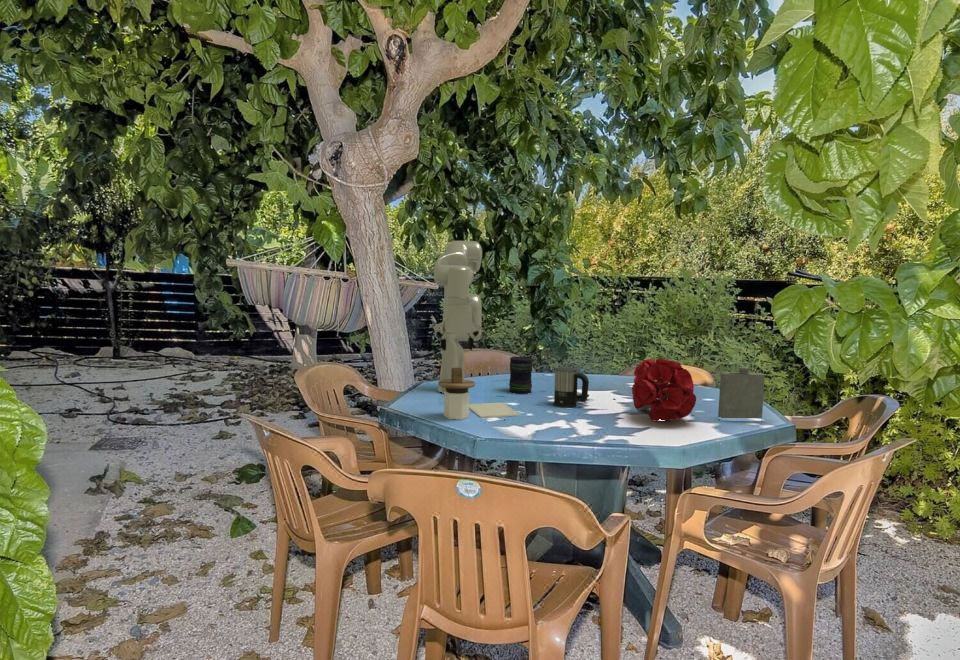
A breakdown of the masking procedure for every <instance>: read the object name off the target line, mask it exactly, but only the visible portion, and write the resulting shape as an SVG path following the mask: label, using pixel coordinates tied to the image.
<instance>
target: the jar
mask: <svg viewBox="0 0 960 660" xmlns="http://www.w3.org/2000/svg"><path fill="white" fill-rule="evenodd" d="M445 389H446V391H445V393H444V394H443V395H444V400H443V402H444V403H443V405H444V406H443V408H444V409H443V411H444V412H443V417H444V416H445V418H446V419H448V420H452V419H456V420H455V421H459V420H460V421H462V420H465V419H469V417H470V411H469V410H470V409H469V404H470V391H469V388H465V389H451V388H445Z"/></svg>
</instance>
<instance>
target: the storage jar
mask: <svg viewBox="0 0 960 660" xmlns="http://www.w3.org/2000/svg"><path fill="white" fill-rule="evenodd" d="M509 359H510V361H509V371H510V374H509V375H510V377H509V384H508V386H509V391H508V393H510V392H511V393H510V394H513V393H515V394H514V395H529V394H528V393H530V394H532V386H533V385H532V383H533V382H532V381H533V380H532V372H533V357H531V356H530V357H529V356H511V357H509Z"/></svg>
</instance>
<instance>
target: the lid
mask: <svg viewBox="0 0 960 660" xmlns="http://www.w3.org/2000/svg"><path fill="white" fill-rule="evenodd" d="M437 383H438V386H439V388H440V387H444V388H451V389H465V388H468V389H470V388H474V387H475V386H476V382H475V381H473V380H472V379H471V380H470V379H465V378H464V379H462V369H461V368H451V379H446V380H442V379H441V380H439V381H438V382H437Z"/></svg>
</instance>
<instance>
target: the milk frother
mask: <svg viewBox="0 0 960 660" xmlns="http://www.w3.org/2000/svg"><path fill="white" fill-rule="evenodd" d="M578 370H579V369H578V368H576V367H572V366H571V367H569V366H558V367H557V366H556V367H554V397H553V405H554V406H555V407H559V408H575V407H577V406H578V405H577V403H579V402H582V403H583V402H586V401H587V400H588V398H590V394H589V382H590V381H589V378H588V376H587V375H585V373H582V372H578ZM578 379H579V380H581V382H582V386H581V394H578Z"/></svg>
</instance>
